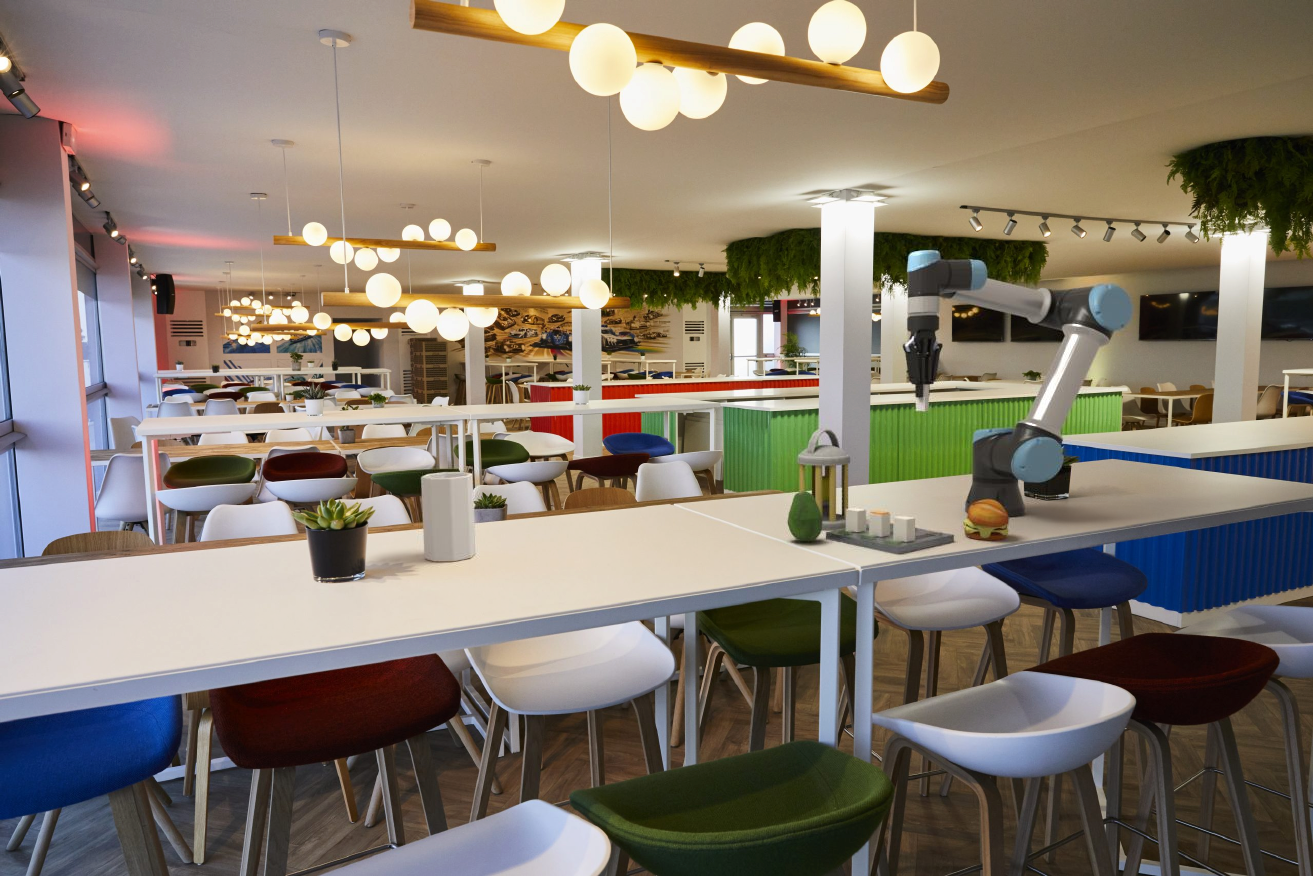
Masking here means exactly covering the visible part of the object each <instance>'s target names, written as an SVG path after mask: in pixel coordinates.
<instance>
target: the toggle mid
mask: <svg viewBox="0 0 1313 876" xmlns="http://www.w3.org/2000/svg"><path fill="white" fill-rule="evenodd" d="M890 523H891V513H890V512H889V511H885V510H879V509H877V510H872V511H870V512H869V513H868V524H869V535H874V536H879V537H883V536H888V535H890Z"/></svg>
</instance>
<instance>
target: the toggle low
mask: <svg viewBox="0 0 1313 876" xmlns="http://www.w3.org/2000/svg"><path fill="white" fill-rule="evenodd" d="M866 524H867V510H866V509H862V508H858V507H857V508H855V507H852V508H848V509H846V530H849V531H854V532H861V531H866Z"/></svg>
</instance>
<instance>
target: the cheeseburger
mask: <svg viewBox="0 0 1313 876" xmlns="http://www.w3.org/2000/svg"><path fill="white" fill-rule="evenodd" d="M1009 522H1010V518H1009V517H1008V514H1007V512H1006V511H1005V509H1004V508H1003V506H1002V505H1001V504H1000V503H999V502H997V501H995V500H991V499H986V500H981V501H978V502H975V503H973V504H971V506H970V507H969V509H968V512H967V516H966V518H965V519H964V520H963V526H964V535H965V536H966V537H968V538H970V539H973V540H981V541H999V540H1003V539H1005V538H1007V537H1006V536H1007V535H1008V534H1009V528H1008V526H1009V524H1010V523H1009Z"/></svg>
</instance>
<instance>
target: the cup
mask: <svg viewBox="0 0 1313 876" xmlns="http://www.w3.org/2000/svg"><path fill="white" fill-rule="evenodd" d="M473 478H474V477H473V473H471V472H464V471H450V472H449V471H444V472H436V473H435V472H433V473H427V474H425V475H422V476H421V477H420V483H421V485H420V486H421V503H422V504H421V507H422V508H421V509H422V528H423V530H422V531H423V552H424V559H425V560H427V561H431V562H433V563H448V562H449V563H455V562H459V561H465V560H469V559H471V558H473V557H474V555H476V553H477V551H476V531H475V530H476V529H475V527H476V526H475V508H474V507H475V505H474V503H475V502H474V481H473Z"/></svg>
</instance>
